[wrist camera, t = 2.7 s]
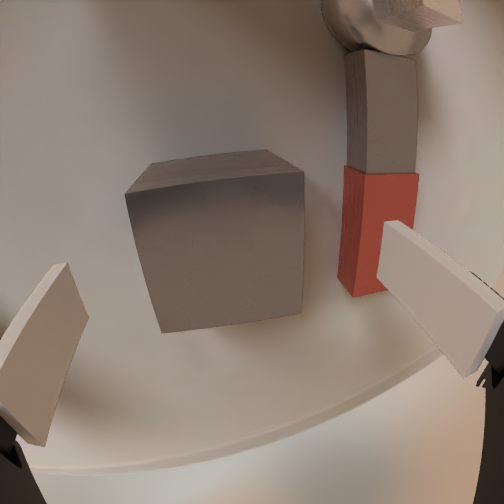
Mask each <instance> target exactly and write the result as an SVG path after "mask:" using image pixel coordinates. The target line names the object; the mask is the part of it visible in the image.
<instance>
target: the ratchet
mask: <svg viewBox="0 0 504 504" xmlns="http://www.w3.org/2000/svg"><path fill="white" fill-rule="evenodd" d="M321 10H322V15H323V18H324V21H325V23H326V25H327V27H328V29H329V30H330V32H331V33H332V35H333V36H334V37H335V38H336V39H337V41H338V42H340V43H341V44H342V45H343V46H344V47H345V48H347V49H348V50H350V51H351V52H352V53H349V54H346V55H344V60H345V76H346V98H347V165H346V166H344V190H343V212H342V229H341V243H340V256H339V267H338V279H339V280H340V281H341V283H342V284H343V285H344V286H345V288H346V289H347V290H348V292H349V293H350V294H351V296H352V297H358V296H362V295H367V294H371V293H375V292H380V291H384V290H388V289H387V288H386V287H385V286H384V285H383V284H382V283H381V282H380V281H379V280H378V279H377V271H378V264H379V258H380V250H381V243H382V235H383V227H384V222H385V221H395V220H399V221H400V222H402V223H403V224H405V225H406V226H408V227H409V228H411V229H412V228H413V222H414V215H415V208H416V200H417V191H418V182H419V174H418V173H415V165H416V149H417V76H416V61H415V60H412V59H408V58H404V57H400V56H402V55H410V54H415V53H418V52H419V51H421V50H422V49H424V48H425V46H426V45H427V44H428V42H429V40H430V37H431V31H432V28H434V27H440V26H447V25H454V24H462V23H463V21H462V15H461V10H460V5H459V0H322V1H321Z"/></svg>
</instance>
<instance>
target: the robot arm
mask: <svg viewBox="0 0 504 504" xmlns="http://www.w3.org/2000/svg"><path fill="white" fill-rule="evenodd" d="M377 279H378V280H379V281H380V282H381V283H382V284H383V285H384V286H385V287H386V288H387V289H388V290H389V291H390V293H391V294H392V295H393V296H394V297H395V298H396V299H397V300H398V301H399V303H400V304H401V305H402V306H403V307H404V308H405V309H406V310H407V311H408V313H409V314H410V315H411V316H412V317H413V318H414V319H415V321H416V322H417V323H418V324H419V325H420V326H421V328H422V329H423V330H424V331H425V332H426V333H427V335H428V336H429V337H430V338H431V339H432V341H433V342H434V343H435V344H436V345H437V347H438V348H439V349H440V350H441V351H442V353H443V354H444V355H445V356H446V357H447V359H448V360H449V361H450V363H451V364H452V365H453V366H454V368H455V369H456V370H457V371H458V373H459V374H460V375H461V377H462V378H465V377H467V376H469V375H470V374H472V373H474V372H475V371H477V370H478V368H479V367H480V365H481V363H482V361H483V360H484V358H486V360H487V361H488V362H489V363H488V365H487V366H486V368H485V370H484V372H483V373H482V375H481V376H480V378H479V380H478V381H477V384H476V386H479V385H480V384H481V382H482V380H483V379H485V382H484V384H483V386H482V387H484V388H486V404H485V406H486V407H485V427H484V440H483V450H482V458H481V465H480V472H479V477H478V483H477V488H476V493H475V497H474V502H473V504H504V298H502V297H501V296H500V295H499V294H498V293H497V292H495V291H494V290H493V289H492V288H489V286H488V285H487V284H486V283H485V282H482V280H481V279H480V278H479V277H477V276H476V275H475V274H474V273H472V272H470V271H468V270H467V269H466V268H465V267H463V266H462V265H461V264H459V263H458V262H457V261H455V260H454V259H453V258H451V257H450V256H449V255H447V254H446V253H445V252H443V251H442V250H441V249H439V248H438V247H436V246H435V245H434V244H432V243H431V242H429V241H428V240H427V239H425V238H424V237H422V236H421V235H419V234H418V233H416V232H415V231H414V230H412V229H411V228H409V227H408V226H406V225H405V224H403V223H402V222H400V221H399V220H395V221H385V222H384V227H383V235H382V243H381V250H380V258H379V264H378V271H377ZM88 318H89V316H88V314H87V312H86V309H85V307H84V305H83V302H82V300H81V297H80V295H79V292H78V290H77V287H76V285H75V282H74V279H73V277H72V274H71V271H70V269H69V266H68V263H61V264H55V265H52V267H51V268H50V269H49V270H48V272H47V273H46V274H45V276H44V277H43V278H42V280H41V281H40V282H39V284H38V285H37V286H36V288H35V289H34V290H33V292H32V293H31V294H30V296H29V297H28V299H27V300H26V301H25V303H24V304H23V306H22V307H21V309H20V310H19V312H18V313H17V315H16V316H15V318H14V319H13V321H12V322H11V324H10V325H9V327H8V328H7V330H6V331H5V333H4V335H3V336H2V337H1V338H0V504H47V503H46V502H45V500H44V498H43V496H42V494H41V492H40V490H39V488H38V486H37V484H36V482H35V479H34V477H33V475H32V473H31V470H30V468H29V466H28V463H27V461H26V459H25V456H24V454H23V451H22V448H21V446H20V445H19V443H18V442H17V441H16V440H15V439H16V435H17V434H18V435H20V436H21V437H22V438H23V439H24V440H25V441H26V442H27V443H29V444H33V445H37V446H42V447H45V445H46V441H47V437H48V433H49V429H50V426H51V422H52V418H53V415H54V412H55V408H56V405H57V402H58V398H59V395H60V392H61V389H62V386H63V383H64V380H65V377H66V374H67V372H68V369H69V366H70V363H71V361H72V358H73V355H74V353H75V350H76V347H77V345H78V342H79V340H80V337H81V335H82V332H83V330H84V328H85V325H86V323H87V321H88Z"/></svg>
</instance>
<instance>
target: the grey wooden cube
mask: <svg viewBox="0 0 504 504" xmlns="http://www.w3.org/2000/svg"><path fill="white" fill-rule="evenodd" d="M125 199H126V203H127V208H128V213H129V218H130V222H131V226H132V231H133V235H134V239H135V243H136V247H137V251H138V255H139V259H140V263H141V267H142V270H143V274H144V277H145V281H146V284H147V288H148V291H149V295H150V298H151V301H152V305H153V308H154V311H155V314H156V317H157V320H158V323H159V326H160V329H161V332H162V333H170V332H179V331H187V330H196V329H204V328H211V327H218V326H226V325H233V324H239V323H246V322H252V321H258V320H264V319H270V318H276V317H282V316H288V315H293V314H299V313H302V295H303V264H304V171H302V170H300V169H299V168H297V167H295V166H294V165H292V164H291V163H289V162H287V161H286V160H284V159H282V158H280V157H279V156H277V155H275V154H274V153H272V152H270V151H268V150H255V151H243V152H233V153H224V154H215V155H206V156H198V157H191V158H184V159H177V160H170V161H164V162H158V163H152V164H150V166H149V167H148V168H147V169H146V170H145V171H144V172H143V173H142V174H141V176H140V177H139V178H138V179H137V180H136V181H135V182H134V184H133V185H132V186H131V187H130V188H129V189H128V190H127V192H126V193H125Z"/></svg>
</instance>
